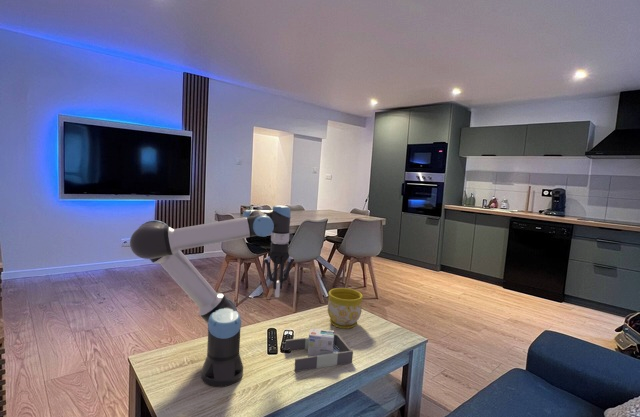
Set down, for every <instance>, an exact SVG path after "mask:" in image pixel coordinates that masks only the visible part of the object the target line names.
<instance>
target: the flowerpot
mask: <svg viewBox="0 0 640 417" xmlns="http://www.w3.org/2000/svg"><path fill="white" fill-rule="evenodd" d="M363 297H364V296H363V294H362V293H361V291H358V290H357V289H353V288H348V287H336V288H335V287H334V288H332V289H330V290H329V291H328V302H327V313H328V314H327V315H328V317H329V321H330V323H331V324H332V325H333V326H334V327H336V328H338V329H343V330H349V329H353V328H354V327H355V326H356V325H357V324H358V321H359V319H360V317H361V315H362V308H363V306H362V302H363Z"/></svg>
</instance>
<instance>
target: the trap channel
mask: <svg viewBox="0 0 640 417" xmlns="http://www.w3.org/2000/svg"><path fill="white" fill-rule="evenodd" d="M308 342H309V336H307V337H299V338H290V339H286V340H285V342H284V351H285V350H286V349H288V348H290V349H291V351H290V352H294V351H300V350H308ZM334 346H336V348H337V349H338V348H339V349H338V350H339V351H340V352H333V353H331V354H324V355H317V356H310V357H308V356H304V357H303V356H302V357H297V358H294V360H295V361H294V372H301V371H308V370H315V369H321V368H327V367H332V366H338V365H339V366H340V365H345V364H353V356H354V351H353V349H351V347H350V346H349V345H348V344H347V342H346V341H345V340H344V339H343V338H342V336H341V335H339V333H334Z"/></svg>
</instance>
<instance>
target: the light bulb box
mask: <svg viewBox="0 0 640 417" xmlns="http://www.w3.org/2000/svg"><path fill="white" fill-rule="evenodd" d="M334 334H335V330H331V329H320V328H313V327H311V328H310V329H309V334H308V337H309V342H308V349H307V357H310V356H317V355H324V354H331V353H334V346H335V345H334Z"/></svg>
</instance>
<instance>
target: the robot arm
mask: <svg viewBox="0 0 640 417" xmlns="http://www.w3.org/2000/svg"><path fill="white" fill-rule="evenodd" d="M290 226H291V207H290V206H287V205H281V204H280V205H278V204H277V205H273V206H272V208H271V209H270V210H269V209H268V210H263V209H262V210H261V209H245V210H244V211H243V212H242V217H238V218H237V217H236V218H232V219H225V220H221V221H215V222H210V223H202V224H196V225H191V226H184V227H180V228H172V227H171V226H169V225H168V224H166V223H165V222H163V221H160V220H156V219H154V220H149V221H146V222H143V223H141V225H140V226H139V227H138V228H137V229H136V230H135V231H134V232H133V233H132V234H131V237H130V239H129V248H130V250H131V252H132V253H133V254H134V255H135V256H136V257H138V258H140V259H144V260H149V261H151V263H153V264H159V265H160V266H161V267H162V268H163V269H164V271H166V273H167V274H168V275H169V276H170V277H171V278H172V279H173V281H174V282H175V283H176V284H177V285H178V286H179V288H181V289H182V291H183V292H184V293H185V294H186V295H187V296H188V297H189V299H191V300H192V302H193V303H194V304H195V305H196V306H197V307H198V310H199V311H198V315H199V316H200V317H201V318H202V319H203V320H204V321H205V322H206V324H207V348H206V349H207V350H206V351H207V352H206V357H205V361H204V363H203V366H202V367H201V372H200V373H201V375H200V376H201V380H202V382H203V383H204V384H206V385H208V386H211V387H215V388H217V387H220V388H222V387H229V386H230V385H233V384H236V383H237V382H239V381H240V380H241V379H242V377H243V375H244V374H243V373H244V365H243V364H244V363H243V361H242V358H241V354H240V348H241V347H240V343H241V328H242V319H241V315H240V313H239V312H238V309H237V307H236V304H235V303H234V302H233V300H231V299H230V298H227V297H226V296H225V295H224V294H223V293H222V292H217V291H216V290H215V289H214V288H213V287H212V286H211V284H210V282H208V281H207V280H206V278H205V277H204V276H203V275H202V274H201V273H200V271H199V270H198V269H197V268H196V267H195V266H194V265H193V263H192V261H190V260H189V258H188V257H187V256H186V255H185V254H184V253H183V252H182V251H183V250H189V249H193V248H199V247H203V246H209V245H215V244H220V243H224V242H229V241H235V240H241V239H246V238H247V239H248V238H250V237H252V238H253V237H263V238H264V237H267V236H268V237H269V236H270V235H271V236H270V241H271V242H270V253H269V254H268V256H267V257H264V258H263V261H264V263H265V265H266V270H267V275H268V280H269V281H270V282H272V289H273V290H274V297H275V298H280V290H282V289H283V283H284V281H287V280H288V277H289V275H290V270H291V267H292V264H293V263H294V262H295V258H293V257H292V256H290V253H289V248H290V243H289V242H290V228H291V227H290ZM286 261H287V263H286ZM270 262H272V263H273V271H272V269H271V265H270ZM285 263H286V266H285ZM278 266H279V270H278ZM284 267H285V270H284ZM272 272H273V274H272ZM278 272H279V273H278ZM278 274H279V275H278Z"/></svg>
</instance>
